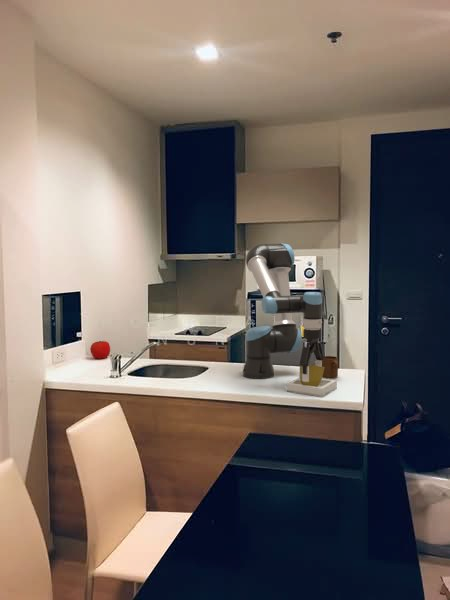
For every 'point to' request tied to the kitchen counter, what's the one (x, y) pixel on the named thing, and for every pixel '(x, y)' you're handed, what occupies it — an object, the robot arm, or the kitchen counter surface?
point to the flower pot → (313, 375)
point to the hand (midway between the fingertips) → (312, 378)
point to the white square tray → (312, 387)
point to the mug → (330, 367)
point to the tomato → (100, 349)
